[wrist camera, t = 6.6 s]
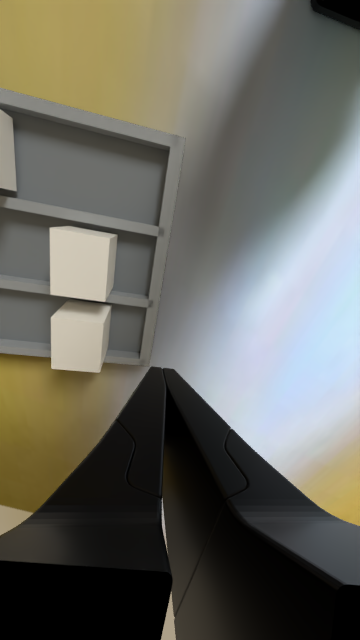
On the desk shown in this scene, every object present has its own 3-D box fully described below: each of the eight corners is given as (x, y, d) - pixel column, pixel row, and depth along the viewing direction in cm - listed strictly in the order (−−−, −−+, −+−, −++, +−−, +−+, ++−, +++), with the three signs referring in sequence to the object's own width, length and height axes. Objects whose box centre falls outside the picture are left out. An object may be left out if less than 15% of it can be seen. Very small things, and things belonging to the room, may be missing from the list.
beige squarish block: (117, 234, 16) (110, 238, 13) (113, 286, 17) (105, 301, 14) (70, 225, 15) (49, 227, 12) (69, 280, 17) (50, 294, 14)
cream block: (111, 304, 18) (103, 323, 15) (107, 347, 19) (99, 372, 16) (68, 299, 17) (50, 317, 14) (68, 343, 19) (51, 368, 15)
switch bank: (183, 144, 16) (188, 134, 14) (149, 355, 21) (149, 368, 19) (-157, 54, 12) (-210, 25, 10) (-88, 332, 18) (-115, 345, 16)
